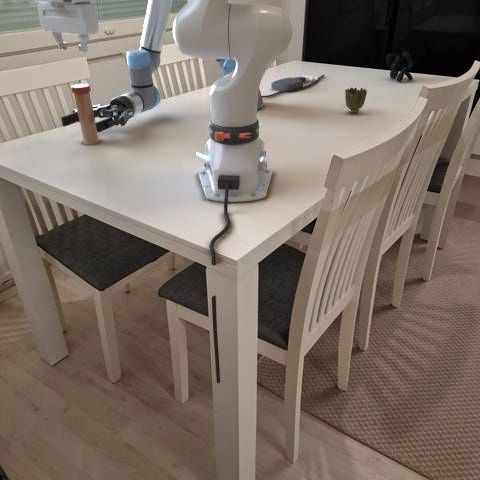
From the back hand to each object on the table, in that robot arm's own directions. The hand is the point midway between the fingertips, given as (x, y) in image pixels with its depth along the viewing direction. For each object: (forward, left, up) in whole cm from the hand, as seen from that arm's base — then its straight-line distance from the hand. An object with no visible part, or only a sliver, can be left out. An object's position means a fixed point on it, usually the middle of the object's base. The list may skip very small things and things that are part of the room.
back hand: (79, 124), depth 132 cm
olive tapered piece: (-87, +32, -6) cm, 93 cm away
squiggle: (-142, +13, -6) cm, 143 cm away
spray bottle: (-100, -11, -6) cm, 101 cm away
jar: (-3, -1, -6) cm, 7 cm away
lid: (-3, -1, +10) cm, 11 cm away
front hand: (-3, -1, +20) cm, 20 cm away
